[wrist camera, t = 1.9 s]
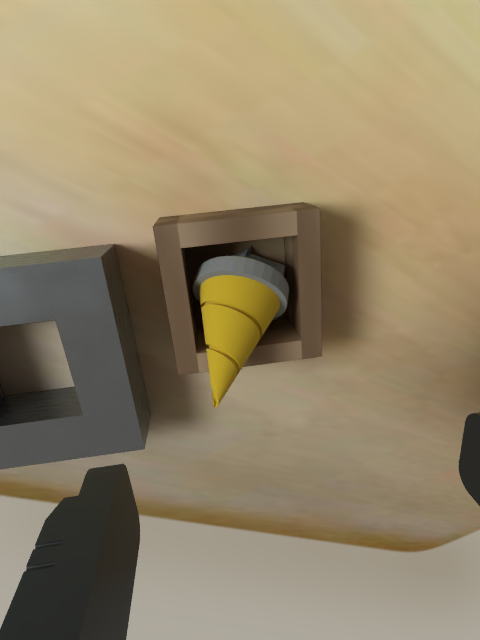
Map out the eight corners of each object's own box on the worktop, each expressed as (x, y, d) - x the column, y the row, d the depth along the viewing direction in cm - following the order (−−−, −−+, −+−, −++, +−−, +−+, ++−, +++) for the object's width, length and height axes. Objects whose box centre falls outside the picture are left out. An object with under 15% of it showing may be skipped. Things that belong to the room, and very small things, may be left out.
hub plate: (114, 243, 23) (100, 257, 20) (150, 415, 27) (144, 449, 24) (-101, 267, 22) (-152, 285, 19) (-27, 439, 27) (-58, 477, 23)
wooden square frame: (302, 202, 23) (320, 208, 20) (306, 332, 26) (322, 356, 23) (159, 217, 23) (152, 226, 19) (180, 348, 26) (178, 375, 22)
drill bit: (303, 270, 25) (281, 427, 20) (226, 273, 27) (190, 417, 22) (283, 209, 20) (249, 392, 16) (193, 218, 22) (140, 383, 18)
